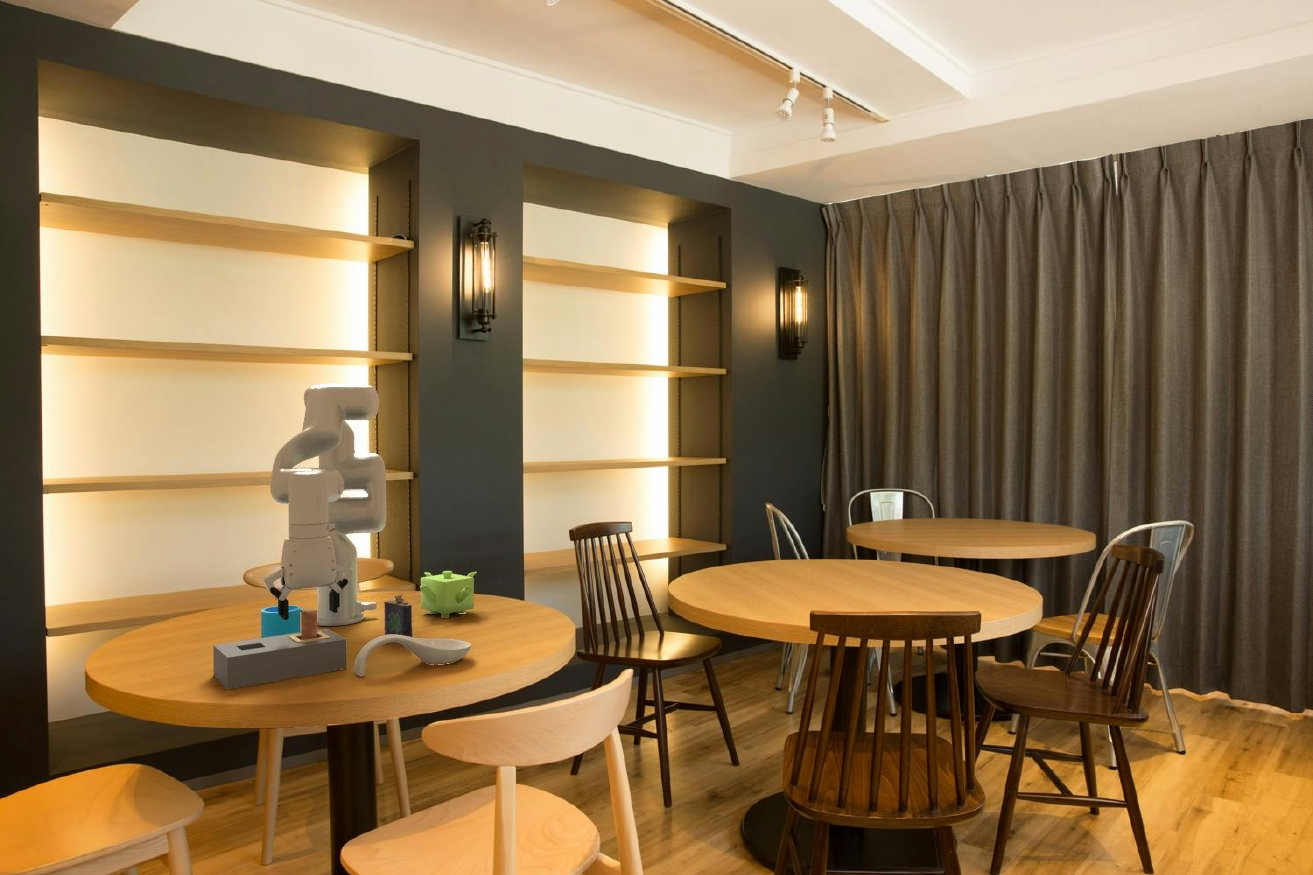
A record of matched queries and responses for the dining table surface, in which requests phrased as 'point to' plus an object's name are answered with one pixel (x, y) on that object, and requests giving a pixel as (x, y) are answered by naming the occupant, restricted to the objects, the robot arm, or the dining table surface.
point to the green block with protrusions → (447, 593)
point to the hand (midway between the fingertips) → (309, 615)
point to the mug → (280, 622)
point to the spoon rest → (416, 650)
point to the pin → (308, 624)
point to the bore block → (277, 658)
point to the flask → (398, 617)
